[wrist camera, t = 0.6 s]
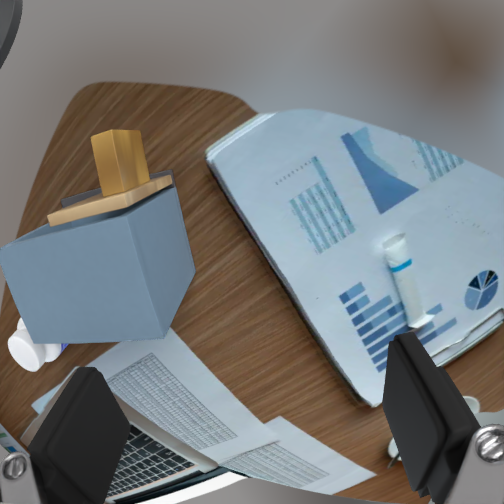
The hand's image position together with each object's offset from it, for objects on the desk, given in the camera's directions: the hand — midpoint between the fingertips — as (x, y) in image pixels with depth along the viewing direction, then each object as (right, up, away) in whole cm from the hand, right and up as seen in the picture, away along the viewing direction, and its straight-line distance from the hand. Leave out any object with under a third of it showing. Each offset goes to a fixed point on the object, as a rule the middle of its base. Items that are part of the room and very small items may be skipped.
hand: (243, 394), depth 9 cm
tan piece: (-10, +12, +16) cm, 23 cm away
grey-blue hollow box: (-11, +5, +20) cm, 23 cm away
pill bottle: (-20, -2, +23) cm, 30 cm away
